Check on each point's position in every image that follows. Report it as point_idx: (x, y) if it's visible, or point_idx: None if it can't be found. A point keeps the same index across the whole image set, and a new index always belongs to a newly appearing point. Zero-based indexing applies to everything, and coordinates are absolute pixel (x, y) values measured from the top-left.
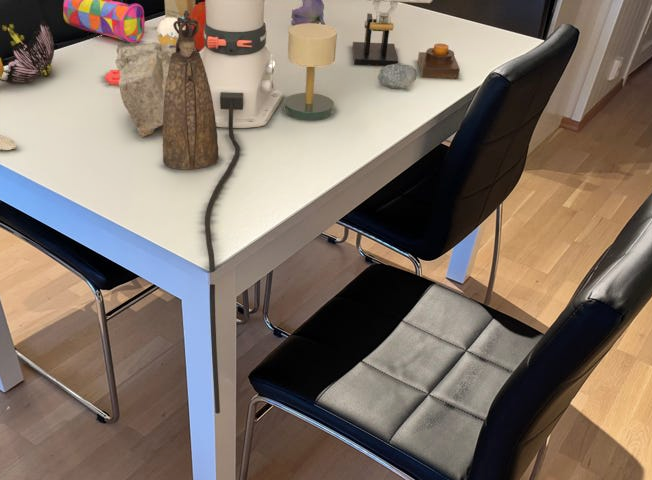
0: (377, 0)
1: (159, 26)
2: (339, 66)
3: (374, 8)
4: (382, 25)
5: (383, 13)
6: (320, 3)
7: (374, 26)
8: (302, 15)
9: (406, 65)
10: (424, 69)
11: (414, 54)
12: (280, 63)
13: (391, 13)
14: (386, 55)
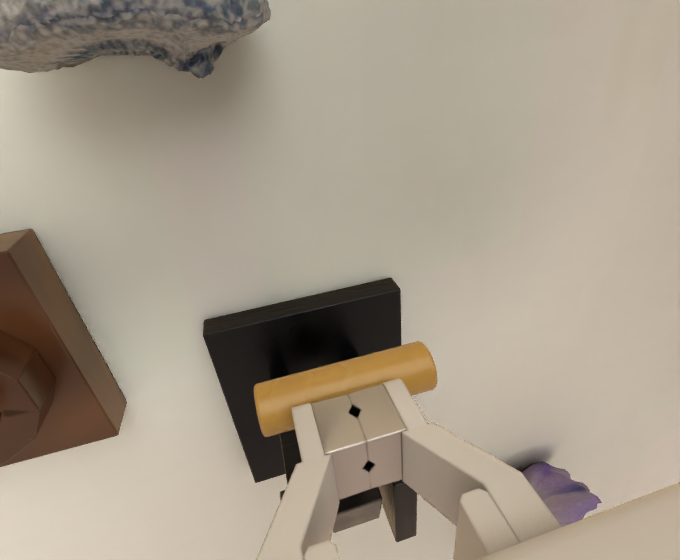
0: (544, 538)
1: None
2: (448, 242)
3: (492, 457)
4: (343, 381)
5: (372, 473)
6: None
7: (399, 356)
8: (565, 495)
9: (37, 3)
10: (5, 247)
11: (163, 458)
12: (650, 200)
13: (301, 478)
14: (268, 372)
